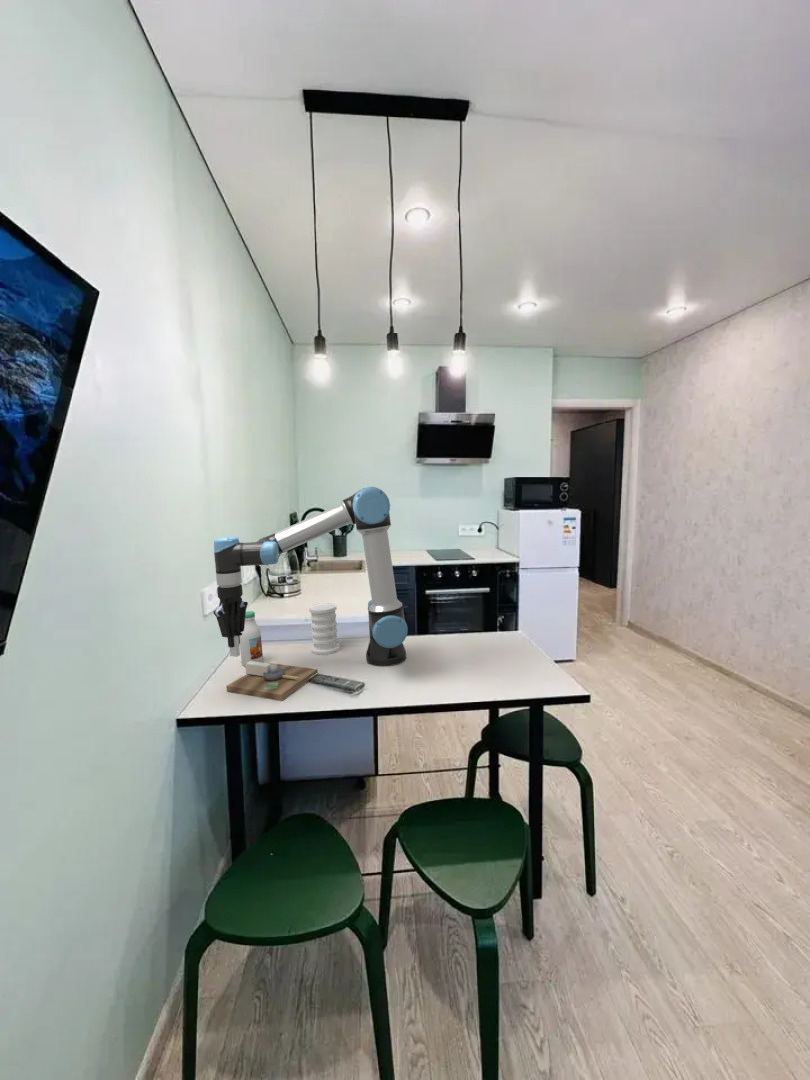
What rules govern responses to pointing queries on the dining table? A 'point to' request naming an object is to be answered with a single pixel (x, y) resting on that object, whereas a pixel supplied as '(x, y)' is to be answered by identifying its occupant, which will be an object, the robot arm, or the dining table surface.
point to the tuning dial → (267, 671)
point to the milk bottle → (251, 641)
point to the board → (272, 683)
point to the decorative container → (324, 629)
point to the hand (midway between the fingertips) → (235, 655)
